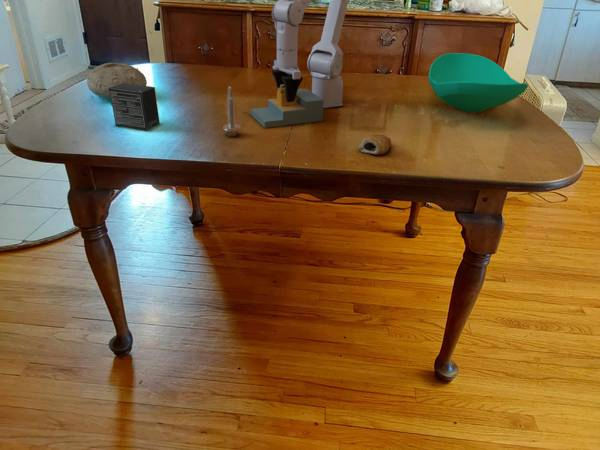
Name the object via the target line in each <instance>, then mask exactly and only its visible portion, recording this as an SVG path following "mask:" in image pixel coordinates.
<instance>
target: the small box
mask: <svg viewBox="0 0 600 450" xmlns="http://www.w3.org/2000/svg"><path fill="white" fill-rule="evenodd" d="M109 92H110V97H111V98H110V101H111V107H112V112H113V117H114V118H113V119H114V123H115V126H116V127H119V128H127V129H134V130H139V131H146V132H147V131H149V130H152V129H153V128H155V127H158V126H159V125H160V124H161V123H160V122H161V121H160V115H159V107H158V101H157V94H156V87H155V86H150V85H146V86H142V85H134V84H126V83H122V84H119V85H116V86H113V87H110V88H109Z"/></svg>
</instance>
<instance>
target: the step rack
mask: <svg viewBox="0 0 600 450" xmlns="http://www.w3.org/2000/svg"><path fill="white" fill-rule="evenodd" d="M323 101H324V100H323V99H321V98H320V97H318V96H317V95H315V94H314V93H312V91H311V90H309V89H308V88H298V90H297V94H296V105H289V106H280V105H279V104H278V103H277V97H276V98H268V99H267V106H264V107H255V108H250V115H251V116H252V118H254V120H256V121H257V122H258V123H259V124H260V126H262V127H263V128H264V129H268V128H276V127H284V126H291V125H299V124H300V125H301V124H307V123H315V122H323V119H324V117H323V116H324V108H323Z"/></svg>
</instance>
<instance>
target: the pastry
mask: <svg viewBox="0 0 600 450" xmlns="http://www.w3.org/2000/svg"><path fill="white" fill-rule="evenodd" d="M391 145H392V139H391V138H389V137H388V136H386V135H383V134H369V135H367V136H364V137H363V139H362V140H361V142H360V144H359V145H358V149H359V150H360V153H364V154H372V155H375V156H381V155H384V154H386V153H388V151H389V149H390V147H391Z"/></svg>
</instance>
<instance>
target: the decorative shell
mask: <svg viewBox="0 0 600 450" xmlns="http://www.w3.org/2000/svg"><path fill="white" fill-rule="evenodd" d="M122 83H126V84H134V85H142V86H147V85H148V84H147V83H148V82H147V77H146V76H145V74H144V73H143V72H142V71H140V69H139V68H138V67H137V68H136V67H134V66H133V65H130V64H127V63H124V62H122V63H120V62H113V61H111V62H106V63H103V64H100V65H98V66H95V67H94V68H93V69H91V70H89V73H88V75H87V77H86V85H87V88H88V90H89V91H90V92H91V93H92V94H94V95H96V96H97V97H100V98H103V99H111V97H110V92H109V88H110V87H113V86H116V85H119V84H122Z"/></svg>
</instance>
